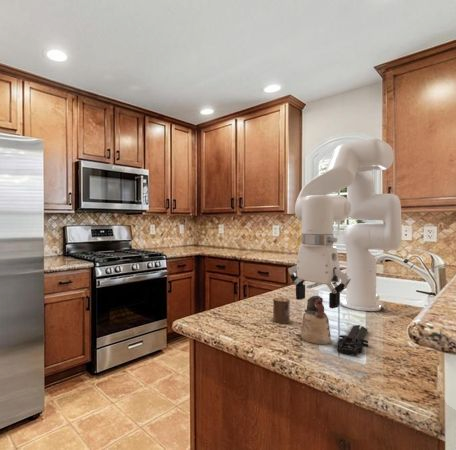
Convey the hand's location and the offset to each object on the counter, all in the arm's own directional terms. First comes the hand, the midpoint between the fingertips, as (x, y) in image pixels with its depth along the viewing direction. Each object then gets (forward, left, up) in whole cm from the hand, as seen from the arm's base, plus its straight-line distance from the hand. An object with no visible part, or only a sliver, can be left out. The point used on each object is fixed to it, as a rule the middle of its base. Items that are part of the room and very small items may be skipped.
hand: (316, 303), depth 85 cm
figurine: (0, 0, -10) cm, 10 cm away
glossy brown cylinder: (-5, -15, -10) cm, 18 cm away
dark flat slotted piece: (-9, +5, -10) cm, 14 cm away
